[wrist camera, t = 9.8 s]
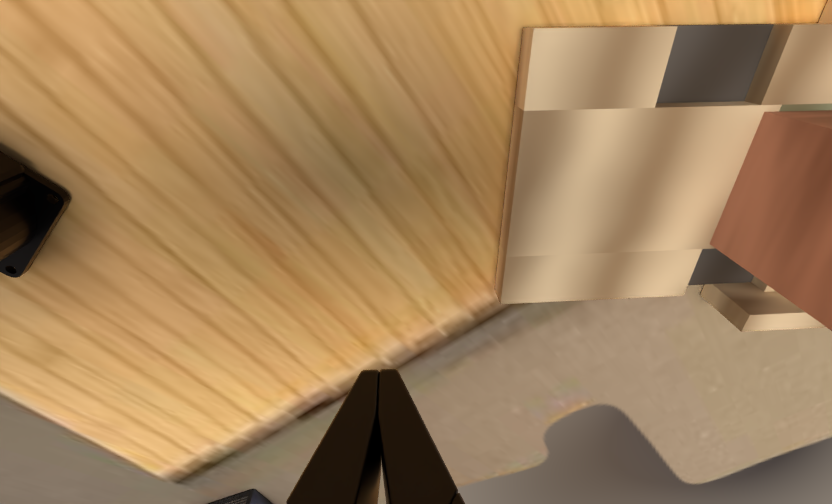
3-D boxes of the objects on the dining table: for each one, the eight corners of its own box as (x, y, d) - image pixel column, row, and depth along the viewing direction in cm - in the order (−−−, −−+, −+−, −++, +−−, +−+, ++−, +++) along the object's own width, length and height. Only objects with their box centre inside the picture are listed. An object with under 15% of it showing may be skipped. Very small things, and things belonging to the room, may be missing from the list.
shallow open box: (492, 304, 25) (507, 343, 22) (526, -6, 17) (556, -10, 14) (871, 286, 26) (934, 321, 23) (1078, -12, 18) (1217, -17, 15)
